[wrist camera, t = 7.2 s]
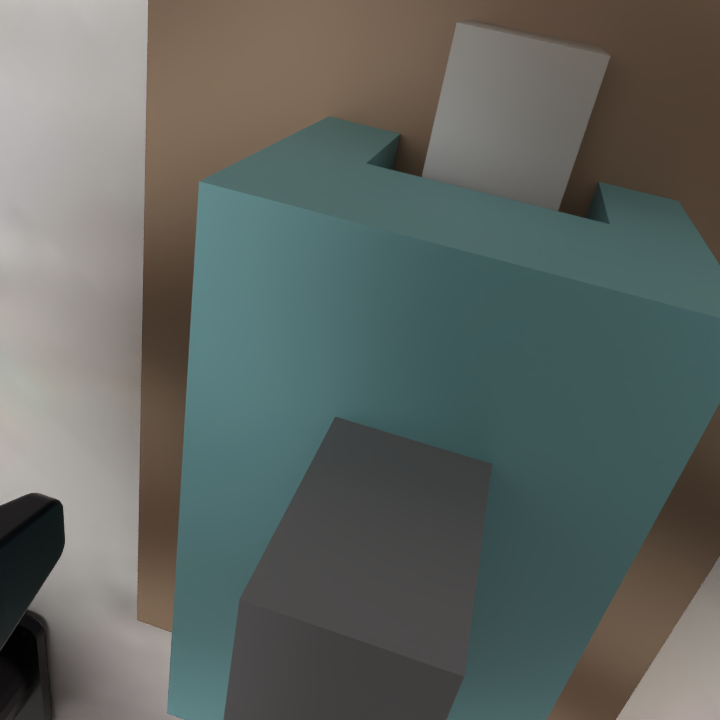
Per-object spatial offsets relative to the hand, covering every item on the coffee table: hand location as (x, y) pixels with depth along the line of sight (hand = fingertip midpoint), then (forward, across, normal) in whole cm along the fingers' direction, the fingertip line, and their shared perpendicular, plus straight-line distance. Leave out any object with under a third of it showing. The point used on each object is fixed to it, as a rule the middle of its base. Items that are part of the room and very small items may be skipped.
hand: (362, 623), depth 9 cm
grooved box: (+6, 0, 0) cm, 6 cm away
